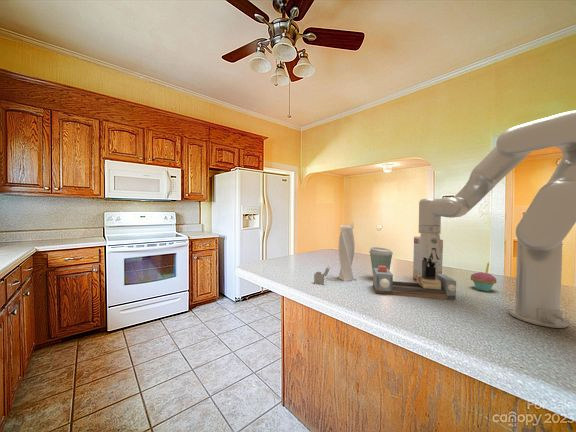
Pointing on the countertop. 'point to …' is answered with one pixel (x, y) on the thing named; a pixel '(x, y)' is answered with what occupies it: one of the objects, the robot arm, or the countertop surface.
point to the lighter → (320, 276)
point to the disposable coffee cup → (380, 257)
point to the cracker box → (418, 259)
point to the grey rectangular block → (447, 284)
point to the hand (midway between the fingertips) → (428, 275)
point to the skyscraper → (346, 252)
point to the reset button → (382, 268)
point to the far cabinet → (383, 280)
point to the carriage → (428, 279)
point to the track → (415, 291)
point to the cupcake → (483, 280)
